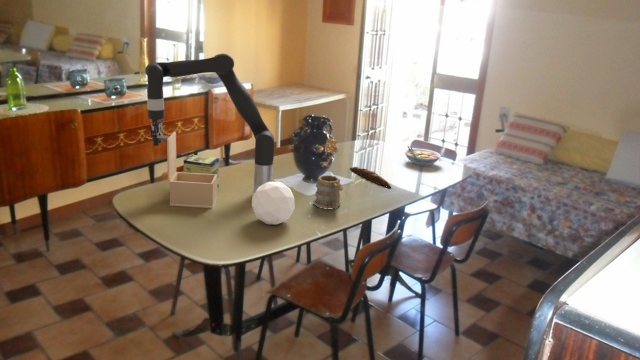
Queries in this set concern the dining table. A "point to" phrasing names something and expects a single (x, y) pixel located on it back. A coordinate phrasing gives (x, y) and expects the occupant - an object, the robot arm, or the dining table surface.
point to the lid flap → (170, 153)
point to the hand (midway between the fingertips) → (157, 144)
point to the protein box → (202, 165)
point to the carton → (193, 189)
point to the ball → (273, 203)
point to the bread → (371, 176)
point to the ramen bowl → (422, 156)
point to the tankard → (328, 192)
